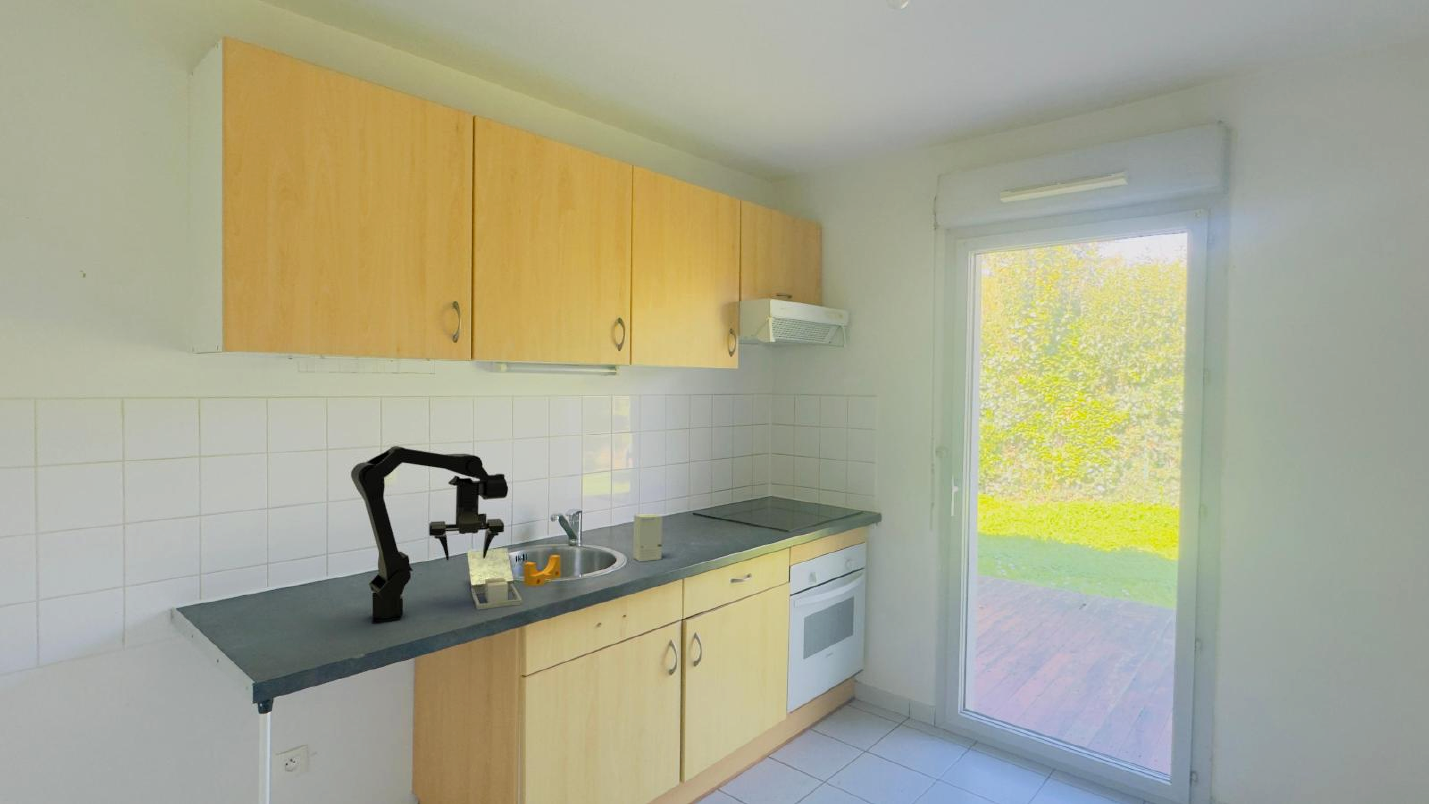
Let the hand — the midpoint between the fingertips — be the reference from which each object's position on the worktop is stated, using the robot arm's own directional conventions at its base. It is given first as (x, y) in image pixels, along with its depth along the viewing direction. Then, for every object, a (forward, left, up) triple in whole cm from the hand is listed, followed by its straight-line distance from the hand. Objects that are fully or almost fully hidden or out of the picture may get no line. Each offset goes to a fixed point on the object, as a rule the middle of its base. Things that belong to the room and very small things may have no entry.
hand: (465, 559), depth 190 cm
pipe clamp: (+23, +11, -12) cm, 28 cm away
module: (+8, -1, -12) cm, 14 cm away
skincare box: (+60, +24, -12) cm, 65 cm away
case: (+8, +5, -11) cm, 15 cm away
